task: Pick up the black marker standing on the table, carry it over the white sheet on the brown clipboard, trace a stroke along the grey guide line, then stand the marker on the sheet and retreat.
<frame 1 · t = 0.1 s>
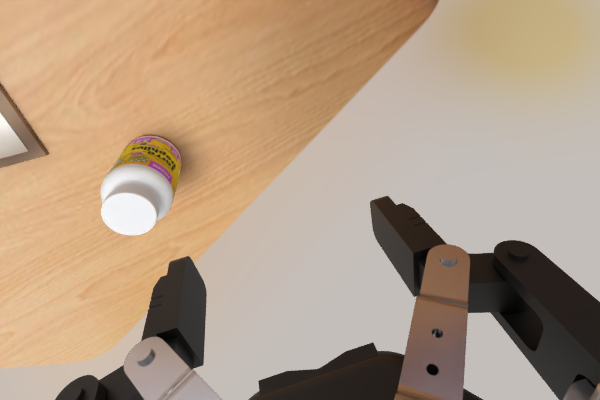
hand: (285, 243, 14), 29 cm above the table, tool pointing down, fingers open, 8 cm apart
supplement bottle: (154, 158, 40), on the table
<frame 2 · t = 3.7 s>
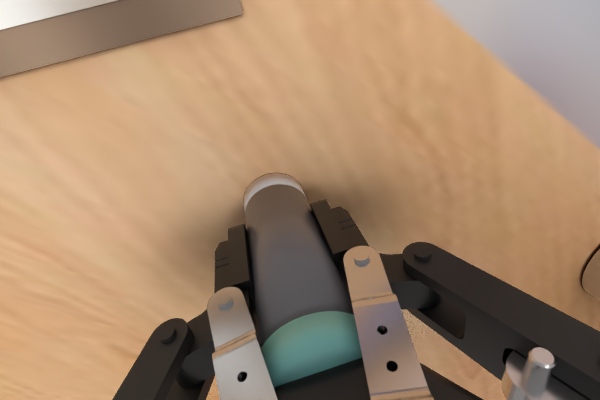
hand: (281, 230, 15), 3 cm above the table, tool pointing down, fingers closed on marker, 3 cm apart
marker: (274, 200, 17), on the table, touching gripper
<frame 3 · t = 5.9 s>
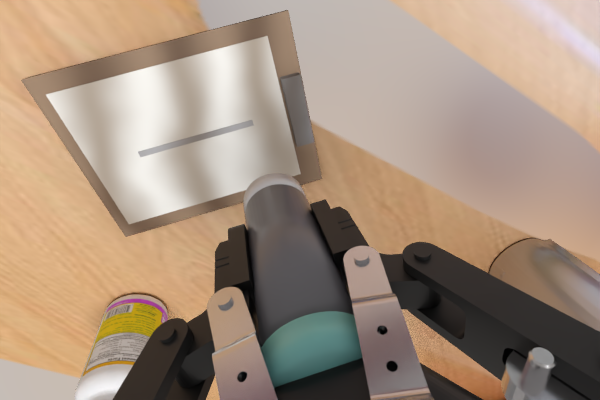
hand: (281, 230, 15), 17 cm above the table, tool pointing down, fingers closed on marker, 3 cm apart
marker: (274, 200, 17), point 14 cm above the table, touching gripper
supplement bottle: (138, 310, 38), on the table
clipboard: (197, 135, 28), on the table
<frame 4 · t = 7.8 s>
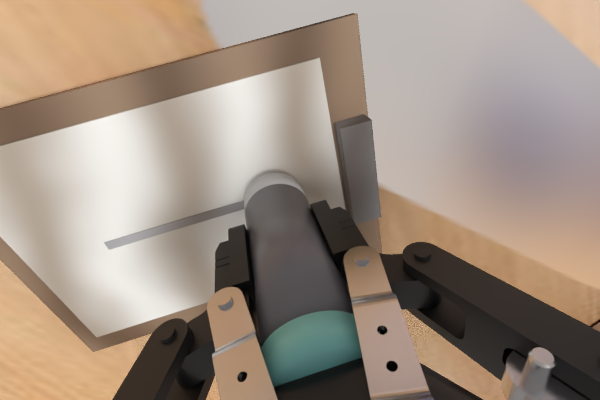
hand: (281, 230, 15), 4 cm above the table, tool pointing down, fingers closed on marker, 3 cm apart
marker: (274, 200, 17), point 1 cm above the table, touching gripper
clipboard: (199, 210, 18), on the table
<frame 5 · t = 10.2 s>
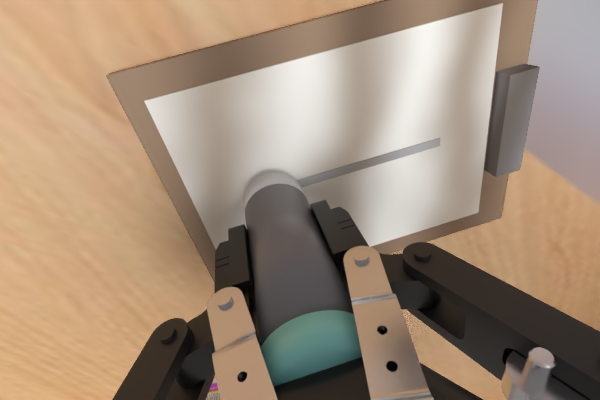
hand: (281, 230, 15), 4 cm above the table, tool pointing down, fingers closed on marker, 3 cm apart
marker: (274, 199, 17), point 2 cm above the table, touching gripper
supplement bottle: (221, 389, 28), on the table
clipboard: (351, 160, 19), on the table
when the fingers open (4 cm above the table, at t = 12.4 s): marker stays where it is, resting on clipboard.
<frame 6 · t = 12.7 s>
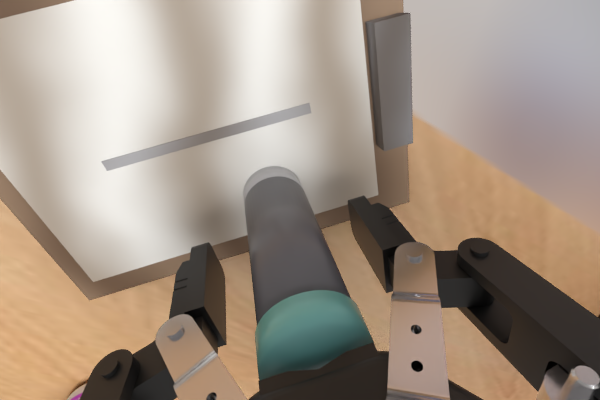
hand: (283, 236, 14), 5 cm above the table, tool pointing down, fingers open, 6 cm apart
marker: (273, 192, 18), point 1 cm above the table, touching clipboard
supplement bottle: (118, 394, 25), on the table
clipboard: (209, 130, 16), on the table
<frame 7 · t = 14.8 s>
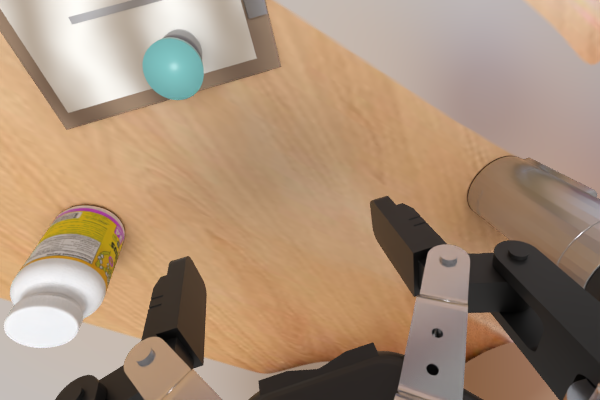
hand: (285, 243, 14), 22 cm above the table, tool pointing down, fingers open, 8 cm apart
marker: (182, 50, 28), point 1 cm above the table, touching clipboard
supplement bottle: (92, 227, 35), on the table
clipboard: (136, 3, 26), on the table
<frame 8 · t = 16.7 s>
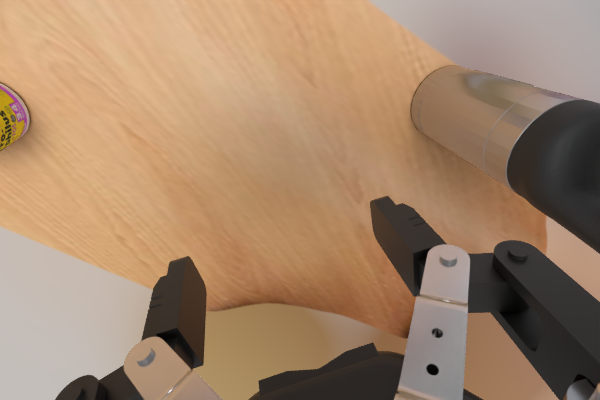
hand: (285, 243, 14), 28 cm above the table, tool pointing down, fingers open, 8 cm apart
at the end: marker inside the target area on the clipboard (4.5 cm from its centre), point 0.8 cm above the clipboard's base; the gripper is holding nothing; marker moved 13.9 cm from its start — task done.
